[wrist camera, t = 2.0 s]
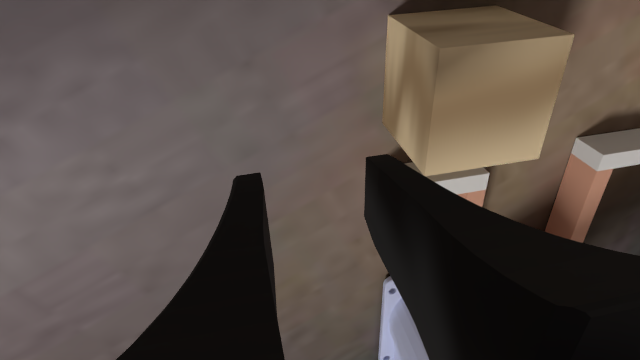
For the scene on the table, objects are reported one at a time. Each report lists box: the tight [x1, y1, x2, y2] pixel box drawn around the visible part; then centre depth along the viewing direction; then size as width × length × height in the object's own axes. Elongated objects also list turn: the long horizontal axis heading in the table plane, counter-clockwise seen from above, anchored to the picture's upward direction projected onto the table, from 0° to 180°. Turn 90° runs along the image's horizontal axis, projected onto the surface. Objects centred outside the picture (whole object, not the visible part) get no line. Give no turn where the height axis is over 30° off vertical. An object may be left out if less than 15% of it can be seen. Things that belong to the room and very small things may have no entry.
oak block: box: [382, 5, 575, 176], centre depth 18 cm, size 5×5×5 cm
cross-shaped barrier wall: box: [404, 128, 640, 243], centre depth 20 cm, size 28×25×2 cm
